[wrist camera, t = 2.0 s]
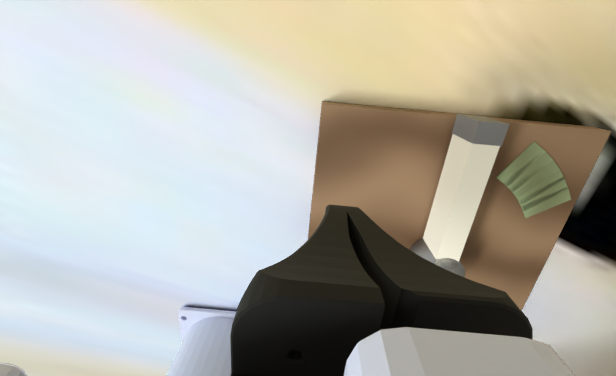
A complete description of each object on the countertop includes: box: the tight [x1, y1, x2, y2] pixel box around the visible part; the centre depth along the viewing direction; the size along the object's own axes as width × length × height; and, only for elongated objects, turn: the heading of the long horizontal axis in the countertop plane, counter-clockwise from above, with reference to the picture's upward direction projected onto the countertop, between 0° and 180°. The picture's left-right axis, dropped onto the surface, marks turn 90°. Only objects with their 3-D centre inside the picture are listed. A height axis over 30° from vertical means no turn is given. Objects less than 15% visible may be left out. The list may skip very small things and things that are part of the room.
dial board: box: [308, 101, 611, 310], centre depth 22 cm, size 20×18×2 cm
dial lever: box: [410, 114, 509, 278], centre depth 19 cm, size 12×3×3 cm, turn 175°
